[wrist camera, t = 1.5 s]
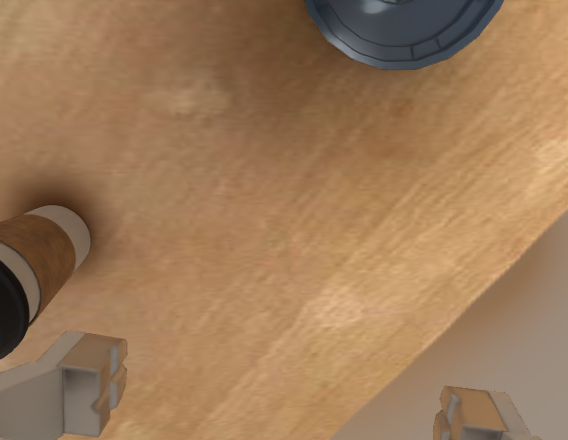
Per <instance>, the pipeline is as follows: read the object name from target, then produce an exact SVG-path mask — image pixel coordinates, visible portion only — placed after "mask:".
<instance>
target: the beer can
mask: <svg viewBox="0 0 568 440" xmlns="http://www.w3.org/2000/svg"><path fill="white" fill-rule="evenodd" d="M384 1H388V2H392V3H396V4H397V3H408V2H411V1H413V0H384Z"/></svg>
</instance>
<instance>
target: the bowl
mask: <svg viewBox="0 0 568 440" xmlns="http://www.w3.org/2000/svg"><path fill="white" fill-rule="evenodd" d="M503 1H504V0H413V1H411V2H408V3H397V4H396V3H392V2H388V1H384V0H304V2H305V5H306V9H307V12H308V15H309V17H310V18H311V20H312V21H313V23H314V24H315V25H316V27H317V28H318V30H319V31H320V33H321V34H322V35H323V37H324V38H325V40H326V41H327V42H328V43H329V44H331V45H332V46H333V47H335V48H336V49H337V50H339V51H340V52H341V53H343V54H344V55H345V56H347V57H348V58H349V59H351V60H353V61H356V62H359V63H362V64H366V65H369V66H372V67H375V68H378V69H382V70H416V69H420V68H423V67H426V66H429V65H431V64H434V63H437V62H440V61H443V60H446V59H448V58H450V57H452V56H453V55H454V54H456V53H457V52H458V51H460V50H461V49H463V48H464V47H465V46H467V45H468V44H469V43H471V42H472V41H473V40H475V39H476V38H477V37H478V36H479V35H480V34H481V33H482V31H483V30H484V29H485V27H486V26H487V25H488V24H489V22H490V21H491V20H492V18H493V17H494V16H495V15H496V13H497V12H498V11H499V9H500V7H501V6H502V3H503Z"/></svg>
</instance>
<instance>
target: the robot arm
mask: <svg viewBox="0 0 568 440" xmlns="http://www.w3.org/2000/svg"><path fill="white" fill-rule="evenodd" d="M126 356H127V342H126V340H125V339H121V338H115V337H109V336H103V335H97V334H91V333H85V332H78V331H66V332H65V333H64V334H63V335H62V336H61V337H60V338H59V339H58V340H57V341H56V342H55V343H54V344H53V345H52V346H51V347H50V348H49V349H48V350H47V351H46V352H45V353H44V354H43V355H42V356H41V357H40V358H39V359H38V360H37V361H36V363H30V362H29V363H26V364H23V365H20V366H18V367H15V368H12V369H9V370H7V371H4V372H1V373H0V440H56V439H58V438H59V437H61V436H62V435H63V433H66V434H74V435H83V436H91V437H99V436H100V434H101V432H102V431H103V429H104V427H105V426H106V424H107V422H108V421H109V419H110V410H112V409H114V408H115V407H117V406H118V404H119V402H120V400H121V398H122V395H123V392H124V389H125V385H126V379H127V369H126V368H125V366H124V365H123V363H122V362H123V360H124V359H125V357H126ZM440 402H441V405H442V408H443V409H442V410H441V411H440V412H439V413H438V414H436V417H435V422H434V428H433V440H542V439H540V438H539V437H537V436H532V435H531V434H530V432H529V430H528V428H527V427H526V425H525V423H524V421H523V420H522V418H521V416H520V415H519V413H518V411H517V409H516V407H515V406H514V404H513V402H512V400H511V399H510V397H509V395H508V394H506V393H505V392H495V391H486V390H476V389H468V388H459V387H451V386H444V388H443V390H442V393H441V397H440Z"/></svg>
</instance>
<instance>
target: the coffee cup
mask: <svg viewBox="0 0 568 440" xmlns="http://www.w3.org/2000/svg"><path fill="white" fill-rule="evenodd" d="M90 246H91V239H90V234H89V231H88V228H87V226H86V224H85V223H84V221H83V220H82V219H81V218H80V217H79V216H78V215H77V214H76V213H74V212H73V211H71V210H69V209H67V208H65V207H62V206H57V205H47V206H43V207H39V208H37V209H34V210H32V211H29V212H27V213H25V214H22V215H20V216H16V217H13V218H10V219H8V220H5V221H2V222H0V359H2V358H4V357H5V356H7V355H8V354H9V353H11V352H12V351H13V350H14V348H16V347H17V346H18V345H19V343H20V342H21V341H22V340H23V338H24V336H25V334H26V332H27V330H28V327H30V326H31V325H32V324H33V322H34V321H35V320H36V319H37V317H38V316H39V315H40V314H41V312H42V311H43V310H44V309H45V308H46V306H47V305H48V304H49V303H50V301H51V300H52V299H53V298H54V296H55V295H56V294H57V293H58V291H59V290H60V289H61V288H62V286H63V285H64V284H65V283H66V281H67V280H68V279H69V277H70V276H71V275H72V273H73V272H74V271H75V270H76V269H77V268H78V267H79V265H80V264H81V263H82V262H83V261H84V259H85V258H86V257H87V255H88V253H89V250H90Z"/></svg>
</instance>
